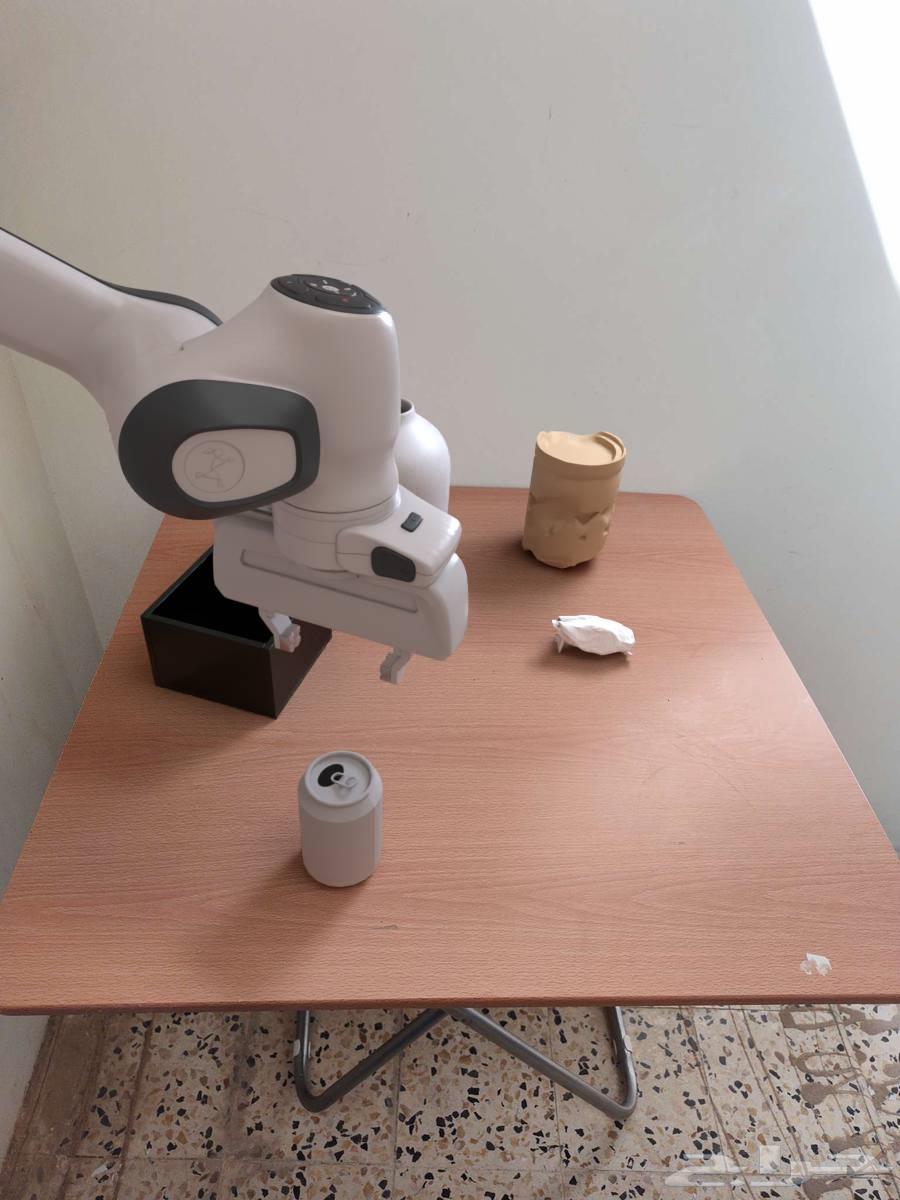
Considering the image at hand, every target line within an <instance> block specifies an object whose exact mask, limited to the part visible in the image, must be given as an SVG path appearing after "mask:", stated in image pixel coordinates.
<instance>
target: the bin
mask: <svg viewBox="0 0 900 1200" xmlns="http://www.w3.org/2000/svg"><path fill="white" fill-rule="evenodd" d="M213 549H214V543H213V544H211V546H210V547H209V548H208V549H206V550H205V551H204V552H203V553H202V554H201V555H200V556H199V557H198V558H197V559H196V560H195V561H194V562H193V563H192V564H191V565H190V566H189V567H188V568H187V569H186V570H185V571H184V572H183V573H182V574H180V576H179V577H178V578H177V579H176V580H175V581H174V582H173V583H172V584H171V585H169V587H168V588H166V589H165V591H164V592H163V593H162V594H160V596H158V597H157V598H156V599H155V600H154V601H153V602H152V603H151V604H150V605H149V606H148V607H147V608H146V609H145V610H144V611H143V612H142V613H141V614H140V615H139V619H140V622H141V627H142V632H143V636H144V641H145V645H146V650H147V655H148V659H149V663H150V668H151V674H152V677H153V682H154V686H156V687H157V688H158V687H159V688H162V689H166V690H169V691H174V692H176V693H180V694H183V695H186V696H191V697H194V698H198V699H202V700H205V701H208V702H212V703H216V704H220V705H223V706H226V707H229V708H233V709H237V710H241V711H244V712H248V713H251V714H255V715H259V716H262V717H265V718H269V719H273V720H278V717H279V716H280V715H281V713H282V712H283V710H284V709H285V708H286V706H287V705H288V703H289V702H290V700H291V699H292V697H293V696H294V694H295V693H296V691H297V690H298V688H299V687H300V685H301V684H302V682H303V681H304V679H305V678H306V676H307V675H308V673H309V672H310V671H311V669H312V668H313V666H314V664H316V662H317V660H318V659H319V657H320V656H321V654H322V653H323V651H324V650H325V648H326V647H327V645H328V644H329V643H330V641H331V639H332V638H333V629H330V628H326V627H323V626H320V625H316V624H313V623H310V622H306V621H303V620H299V619H296V618H293V617H289V616H288V617H289V619H290V621H291V623H293V624H296V625H299V626H300V633H299V635H300V636H301V640H300V643H299V645H298V646H297V647H295V648H294V651H293V652H292V653H291V652H288V651H285V650H281V649H278V648H275V643H274V633H272V632H271V631H270V629H269V628H268V626H267V625H266V624H265V622H264V621H263V619H262V618H261V617H260V615H259V609H258V607H256V606H252V605H249V604H245V603H242V602H239V601H235V600H232V599H229V598H226V597H224V596H223V595H222V593H221V592H220V591H219V589H218V588H217V587H216V585H215V582H214V571H213Z"/></svg>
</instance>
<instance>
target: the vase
mask: <svg viewBox="0 0 900 1200" xmlns="http://www.w3.org/2000/svg"><path fill="white" fill-rule="evenodd" d="M394 459H395V463H396V466H397V470H398V476H399V484H400V485H402V486H403V487H404V488H406V489H407V490H409V491H410V492H411V493H413V494H414V495H416V496H417V497H419V498H421V499H422V500H424V501H426V502H427V503H429V504H431V505H432V506H434V507H436V508H438V509H439V510H441V511H443V512H445V513H447V514H448V515H449V503H450V486H451V469H452V468H451V465H452V463H451V456H450V451H449V448H448V445H447V442H446V440H445V437H444V435H443V434H442V433H441V432H440V431H439V430H438V428H437V427H436V426H434V425H433V424H432V423H431V422H430V421H429V420H427V419H426V418H424V417H423V416H421V415H419V414H418V413H417V412H416V411H415V405H414V403H413V402H412V401H411V400H409V399H407V398H405V397H402V396H401V422H400V429H399V433H398V436H397V438H396V441H395V445H394Z"/></svg>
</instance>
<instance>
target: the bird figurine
mask: <svg viewBox="0 0 900 1200" xmlns="http://www.w3.org/2000/svg"><path fill="white" fill-rule="evenodd" d="M551 622H552V627H553V628H554V629H555V630H556V631H557V634H556V635H555V637H554V638H553V641H556V642H555V645H554V646H556V645H557V646H558V651H557V652H558V653H561V651H562V650H563V646H564V644H565V643H567V644H569V645H570V646H572V647H576V648H578V649H580V650H581V651H584V652H586V653H593V654H597V655H599V656H605V655H610V654H613V653H618V652H620V653H622V654H623V655H625V656H629V657H630V656H631V657H633V653H632V652H630V651H631V650H632V648H633V647H634V646H635V645H636V640H635V636H634V632H633V630H632V629H631V628H629V627H627V626H625V625H623V624H621V623H620V622H617V621H614V620H612V619H607V618H601V617H600V616H597V615H589V614H588V615H587V614H579V615H559V616H558V617H557V619H551Z"/></svg>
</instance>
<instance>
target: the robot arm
mask: <svg viewBox="0 0 900 1200" xmlns="http://www.w3.org/2000/svg"><path fill="white" fill-rule="evenodd" d="M0 345H1V346H3V347H6V348H8V349H10V350H12V351H15V352H18V353H20V354H21V355H24V356H26V357H29V358H32V359H33V360H36V361H39V362H40V363H43V364H45V365H47V366H50V367H53V368H55V369H57V370H59V371H61V372H63V373H65V374H67V375H68V376H70V377H71V378H72V379H74V380H75V381H77V383H79V385H81V386H82V387H83V389H85V390H86V391H87V392H88V393H89V394H90V395H91V397H92V398H93V399H94V400H95V401H96V403H97V404H98V405H99V406H100V408H101V409H102V410H103V412H104V415H105V418H106V422H107V425H108V431H109V433H110V436H111V441H112V444H113V448H114V450H115V454H116V456H117V459H118V463H119V465H120V469H121V472H122V474H123V476H124V478H125V480H126V482H127V483H128V485H129V486H130V488H131V489H132V490H133V492H134V493H135V494H136V495H137V496H138V497H139V498H140V499H141V500H142V501H143V502H145V503H146V504H148V505H149V506H151V507H152V508H153V509H155V510H157V511H159V512H161V513H163V514H166V515H168V516H171V517H174V518H178V519H183V520H191V521H210V520H212V525H213V527H214V530H215V533H214V538H213V544H214V549H213V571H214V582H215V585H216V587H217V588H218V589H219V591H220V592H221V593H222V595H223V596H224V597H226V598H229V599H232V600H235V601H239V602H242V603H245V604H249V605H252V606H256V607H258V609H259V615H260V617H261V618H262V619H263V621H264V622H265V624H266V625H267V626H268V628H269V629H270V631H271V632H272V633H274V643H275V648H278V649H281V650H285V651H288V652H291V653H292V652H293V651H294V648H295V647H297V646H298V645H299V643H300V640H301V636H300V635H299V633H300V626H299V625H296V624H293V623H291V621H290V619H289V617H293V618H296V619H299V620H303V621H306V622H310V623H313V624H316V625H320V626H323V627H326V628H330V629H332V631H337V632H341V633H344V634H347V635H350V636H353V637H357V638H360V639H364V640H368V641H371V642H374V643H377V644H381V645H384V646H387V647H391V648H393V652H388V653H387V655H385V659H384V660H383V661H382V662H381V664H380V666H379V673H380V675H379V680H380V681H383V682H386V683H389V684H392V685H395V686H399V684H400V682H401V681H402V679H403V678H404V676H405V673H406V664H407V663H408V662H409V661H410V660H411V659H412V657H413V655H414V654H415V655H418V656H422V657H425V658H428V659H431V660H435V661H438V662H439V661H440V662H443V661H445V660H446V659H449V658H450V657H451V656H453V654H455V653H456V651H457V650H458V649H459V647H460V645H461V643H462V641H463V640H464V637H465V636H466V632H467V629H468V621H469V587H468V575H467V571H466V568H465V565H464V563H463V561H462V559H461V557H460V556H458V554H456V551H457V549H458V546H459V544H460V542H461V538H462V534H463V533H462V532H463V528H462V524H461V522H460V521H459V520H458V519H457V518H455V517H454V516H452V515H450V514H449V513H448V514H447V513H445V512H443V511H441V510H439V509H438V508H436V507H434V506H432V505H431V504H429V503H427V502H426V501H424V500H422V499H421V498H419V497H417V496H416V495H414V494H413V493H411V492H410V491H409V490H407V489H406V488H404V487H403V486H402V485H400V484H399V476H398V470H397V466H396V463H395V459H394V445H395V441H396V438H397V436H398V433H399V429H400V422H401V397H402V385H401V383H402V382H401V362H400V361H401V360H400V349H399V343H398V336H397V330H396V325H395V322H394V318H393V315H392V314H391V312H389V310H388V309H387V308H386V306H385V305H384V304H383V303H382V302H381V301H379V299H377V298H376V297H375V296H373V295H372V294H370V292H368V291H366V290H365V289H363V288H361V287H359V286H358V285H355V284H354V283H353V284H351V283H348V282H346V281H343V280H341V279H338V278H333V277H328V276H324V275H319V274H310V273H292V274H289V275H282V276H277V277H275V278H272V279H271V280H270V281H269V282H268V283H267V285H266V286H265V288H264V289H263V291H262V292H261V293H260V294H259V295H258V296H257V297H256V298H255V299H254V300H253V301H251V302H250V303H249V304H248V305H247V306H245V307H244V308H243V309H242V310H240V311H239V312H238V313H236V314H235V315H234V316H232V317H231V318H229V319H227V320H226V321H225V322H223V320H222V319H220V317H219V316H217V314H216V313H214V312H213V311H212V310H210V309H209V308H207V307H206V306H205V305H203V304H201V303H199V302H197V301H195V300H193V299H192V298H189V297H184V296H183V295H178V294H174V293H169V292H164V291H157V290H150V289H141V288H135V287H130V286H124V285H119V284H116V283H113V282H110V281H107V280H104V279H102V278H100V277H97V276H95V275H93V274H90V273H88V272H87V271H85V270H83V269H81V268H79V267H77V266H75V265H73V264H72V263H69V262H68V261H66V260H64V259H62V258H60V257H58V256H57V255H54V254H53V253H51V252H49V251H47V250H45V249H44V248H41V247H39V246H38V245H35V244H34V243H32V242H30V241H28V240H26V239H24V238H22V237H20V236H19V235H18V234H15V233H13V232H11V231H10V230H7V229H6V228H4V227H2V226H0ZM288 616H289V617H288Z"/></svg>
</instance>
